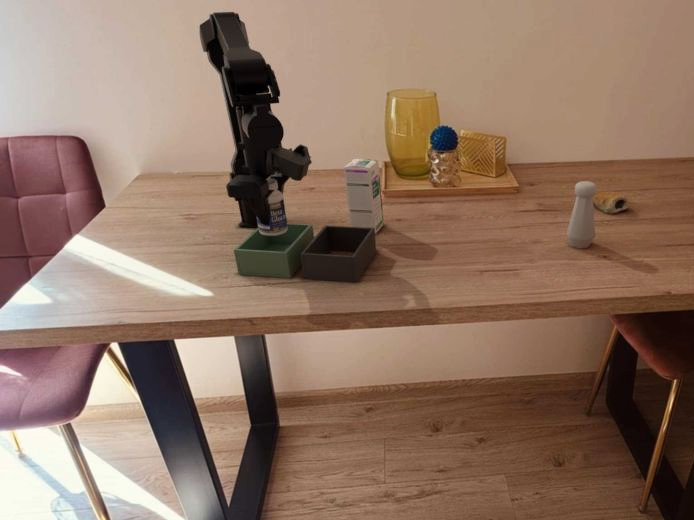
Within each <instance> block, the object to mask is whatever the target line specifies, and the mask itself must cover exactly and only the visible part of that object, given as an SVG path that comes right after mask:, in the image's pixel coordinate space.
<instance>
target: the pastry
mask: <svg viewBox="0 0 694 520" xmlns="http://www.w3.org/2000/svg"><path fill="white" fill-rule="evenodd" d="M593 204H594V206H596V208H597V209H599V210H600V211H602V212H603V213H605V214H611V215H613V214H616V213H619V212H621V211H625V210H627V209H628V208H629V206H630V201H629V198H627V196H626V195H625V196H624V195H622V194H620V193H619V192H616V191H596V195H595V196H593Z"/></svg>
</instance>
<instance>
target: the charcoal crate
mask: <svg viewBox="0 0 694 520" xmlns="http://www.w3.org/2000/svg"><path fill="white" fill-rule="evenodd" d="M330 250H334V251H348V252H354V253H352V255H343V254H328V252H329V251H330ZM376 253H377V243H376V234H375V229H374V228H364V227H351V226H347V225H329V224H328V225H324V226H323V227H322V228H321V229H320V230H319V232H318V233H317V234H316V235H314V239H313V240H312V241H311V242H310V243H309V245H308V246H307V247H306V248H305V249H304V250H303V251H302V253H301V254H300V256H301V263H302V264H301V269H302V276H303V279H305V280H317V281H334V282H349V283H357V282H358V281H359V279H360V278H361V276H362V275H363V273H364V272H365V270H366V269H367V267H368V265H369V263H370V262H371V260H372V259H373V257H374V256H375V255H376Z"/></svg>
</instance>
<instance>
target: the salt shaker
mask: <svg viewBox="0 0 694 520" xmlns="http://www.w3.org/2000/svg"><path fill="white" fill-rule="evenodd" d="M596 192H598V188H597V184H596V183H594V182H592V181H587V180H584V181H583V180H581V181H578V182H577V183H576V184H575V186H574V195H576V198H575V202H574V205H573V209H572V212H571V216H570V220H569V223H568V227H567V230H566V235H567V239H568V241H569V244H570V246H571V247H573V248H577V249H586V248H589V247H590V245H591V244H592V242H593V241H594V239H595V238H596V225H595V209H594V202H593V196H595V195H596Z"/></svg>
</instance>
